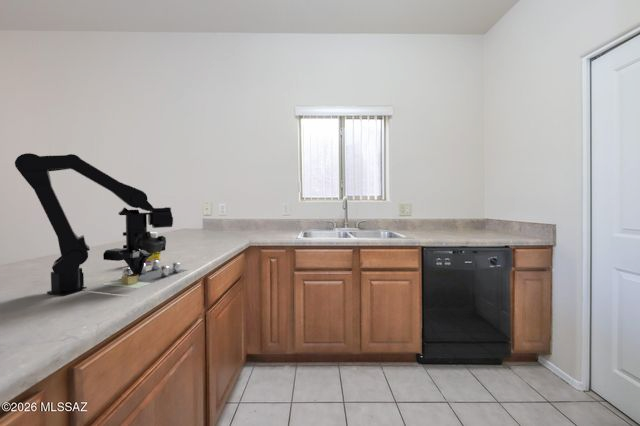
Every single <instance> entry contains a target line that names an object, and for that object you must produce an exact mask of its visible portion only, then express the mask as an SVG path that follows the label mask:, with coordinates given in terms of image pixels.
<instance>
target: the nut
mask: <svg viewBox="0 0 640 426" xmlns="http://www.w3.org/2000/svg"><path fill="white" fill-rule="evenodd" d="M121 279H122V284H123V285H131V284H137V283H138V282H139V274H133V273H131V274H126V275H122V276H121Z"/></svg>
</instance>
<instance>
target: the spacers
mask: <svg viewBox="0 0 640 426" xmlns="http://www.w3.org/2000/svg"><path fill="white" fill-rule="evenodd" d="M146 266H147V265H146V264H144V266H143V269H142V272H141V275H143V274H146V271H147V270H146V269H147V267H146ZM159 266H160V263H159V260H152V261H151V266H150V268H151V269H150V270H151V271H157V270H159V268H161V277H167V278H170V277H169V268H170V267H169V265H162V266H160V267H159ZM172 269H173V273H179V274H181V273H180V269H181V262H179V261H177V262H172ZM121 271H122V276H123V275H126V274H132V271H131V269H130V267H129V266H128V267H127V266H126V267H122V270H121Z"/></svg>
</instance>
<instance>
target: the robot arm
mask: <svg viewBox="0 0 640 426" xmlns="http://www.w3.org/2000/svg"><path fill="white" fill-rule="evenodd" d="M14 166H15V169H16V170H18V172H19V174H20V175H21V176H22V177H23V178H24V179H25V181H26V182H27V184H29V186H30V187H31V188H32V190H34V193H35V195H36V197H37V199H38V201H39V203H40V204H41V207H42V209H43V211H44V213H45V214H46V218H48V220H49V223H50V225H51V227H52V229H53V231H54V233H55V235H56V236H57V241H58V247H59V251H60V256H59V257H58V258H57V259H55V261H53V264H52V266H51V269H52V271H51V272H50V290H48V291H46V293H47V294H49V295H58V296H67V295H70V294H74V293H76V292H80V291H83V290H85V289H88V288H87V286H85V285H84V283H85V282H84V281H85V280H84V277H85V275H84V272H83V267H80V266H81V265H83V264H84V263H85V262H86V261H87V260H88V258H89V251H90V246H89V245H88V244H87V243H86V239H85V236H84V234H83V235H81V236H78V235H77V234H76V233H75V231H74V230H73V228H72V225H71V224H70V221H69V219H68V217H67V215H66V213H65V211H64V208H63V206H62V205H61V203H60V200H59V198H58V196H57V195H56V192H55V190H54V188H53V186H52V180H51V176H50V172H57V171H65V170H72V171H74V172H75V173H78V174H79V175H81V176H83V177H85V178H87V179H89V180H90V181H92V182H93V183H95V184H97V185H99V186H100V187H102V188H104V189H106V190H108V191H109V192H111V193H112V194H114V195H115V196H116V197H117V198H119V200H120V201H122V202H123V203H125V204H126V205H127V206H129V207H131V208H133V209H128V208H127V207H125V206H124V207H123V208H122V210H120V211H119V212H118V214H117V215H119V216H125V232H124V231H123V232H122V236H123V237H125V243H126V244H123V245H122V247H123V248H117V247H116V248H112V249H106V250H105V251H104V252H103V261H114V262H115V261H117V262H119V261H124V263H126V264H127V266H128V267H130V269H131V273H132V274H139V276H140V275H141V272H142V269H143V266H144V264H145V261H146V260H147V259H148V258H149V257H150V256H152V255H153V253H155V252H160V253H161V252H163V251H166V245H167V244H166V243H167V239H166V236H164V235H157V238H156V237H155V238H153V237H151V233H150V232H151V231H148V229H147V228H148V225H149V226H151V227H152V228H153V229H159V228H160V229H161V228H172V227H173V223H174V217H173V214H172V207H169V206H168V207H167V206H166V207H154V206H153V205H152V204H151V203H150V202H149V201H148V199H149V198H148V195H147V193H145V192H144V191H143V190H141V189H139V188H136V187H133V186H131V185H129V184H125V183H123V182H121V181H119V180H117V179H115V178H114V177H112V176H110V175H109V174H107V173H105V172H103V171H102V170H100V169H98V168H97V167H96V166H94V165H92V164H90V163H88V162H87V161H85V160H83V159H82V158H81V157H79V156H78V155H76V154H72V153H71V154H69V153H68V154H65V155H59V154H58V155H38V154H35V153H31V152H30V153H29V152H28V153H26V152H25V153H23V154H20V155H18V156H17V158H16V159H15V161H14ZM24 179H23V180H24ZM134 208H135V209H134ZM139 209H141V210H143V211H146V212H140V210H139ZM147 224H148V225H147ZM149 253H150V254H149Z"/></svg>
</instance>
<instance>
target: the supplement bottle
mask: <svg viewBox="0 0 640 426" xmlns="http://www.w3.org/2000/svg"><path fill="white" fill-rule="evenodd" d="M149 232H150V233H151V237H153V238H155V237H156V238H157V237H158V236H159V235H158V231H149ZM149 254H150V253H149ZM161 255H162V254H161V252H155V253H153V255H152V256H150V257H149V258H148V259H147V260H146V261H145V264H146V266H147V265H151V261H152V260H159V264H160V263H161V261H162V260H161V257H162V256H161Z"/></svg>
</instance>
